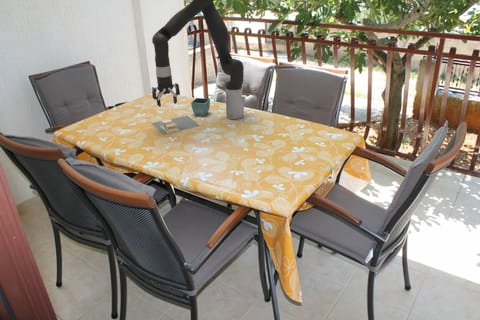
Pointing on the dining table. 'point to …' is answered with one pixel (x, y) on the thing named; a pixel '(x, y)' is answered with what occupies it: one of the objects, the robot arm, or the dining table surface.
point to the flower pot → (200, 106)
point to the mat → (181, 123)
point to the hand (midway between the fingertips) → (167, 104)
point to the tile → (169, 125)
